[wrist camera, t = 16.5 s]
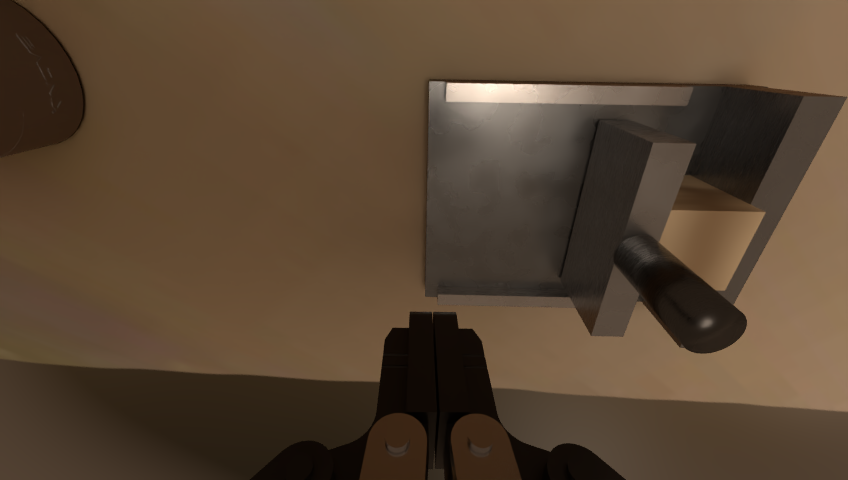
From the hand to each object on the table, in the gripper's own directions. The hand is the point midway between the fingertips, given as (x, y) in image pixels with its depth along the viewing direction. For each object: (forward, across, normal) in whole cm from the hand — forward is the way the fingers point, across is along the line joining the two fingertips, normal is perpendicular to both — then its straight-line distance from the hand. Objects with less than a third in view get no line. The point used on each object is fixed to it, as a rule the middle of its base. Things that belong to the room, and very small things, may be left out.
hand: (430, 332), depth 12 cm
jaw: (+14, -12, +1) cm, 18 cm away
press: (+15, -10, +1) cm, 19 cm away
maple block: (+14, -15, +1) cm, 20 cm away
